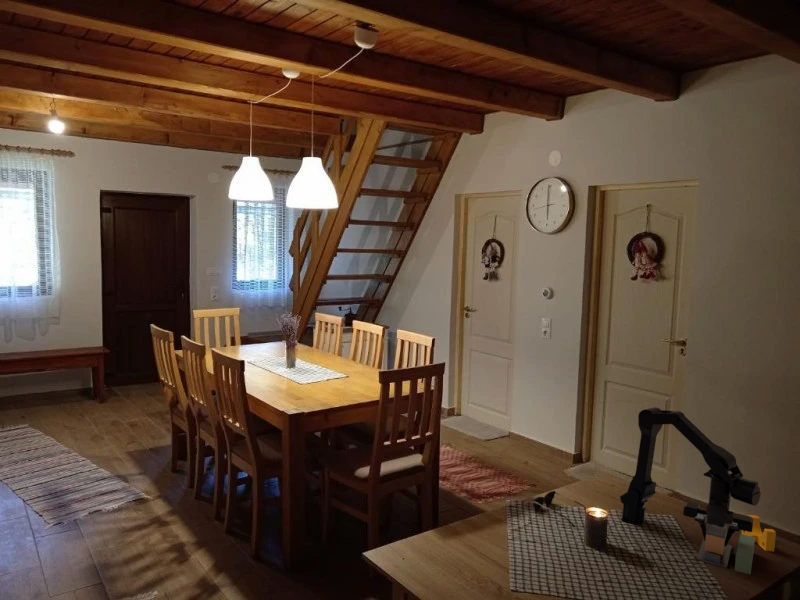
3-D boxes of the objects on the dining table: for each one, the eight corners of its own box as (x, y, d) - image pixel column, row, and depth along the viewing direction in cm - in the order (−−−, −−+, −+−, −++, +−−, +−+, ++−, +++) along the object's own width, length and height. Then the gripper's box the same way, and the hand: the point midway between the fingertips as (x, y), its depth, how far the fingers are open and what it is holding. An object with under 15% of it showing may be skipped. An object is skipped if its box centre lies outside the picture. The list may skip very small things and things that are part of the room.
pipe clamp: (741, 533, 204) (743, 514, 203) (754, 534, 204) (756, 515, 203) (759, 550, 192) (761, 530, 191) (774, 552, 192) (776, 532, 191)
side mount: (696, 559, 184) (697, 551, 184) (703, 540, 197) (704, 532, 197) (726, 568, 180) (727, 559, 179) (731, 547, 193) (732, 539, 193)
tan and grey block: (704, 550, 186) (706, 532, 185) (707, 538, 193) (708, 521, 193) (723, 554, 183) (724, 536, 183) (725, 543, 191) (726, 525, 190)
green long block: (733, 569, 179) (734, 553, 178) (737, 548, 192) (738, 533, 192) (750, 574, 176) (751, 558, 176) (753, 553, 190) (755, 537, 189)
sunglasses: (552, 502, 223) (554, 489, 222) (593, 520, 211) (595, 507, 211) (531, 512, 213) (532, 499, 212) (572, 532, 202) (574, 517, 201)
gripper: (682, 494, 185) (678, 544, 186) (753, 510, 175) (748, 563, 176) (687, 483, 195) (683, 531, 196) (755, 498, 184) (750, 548, 186)
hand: (715, 543), depth 188 cm, fingers closed on tan and grey block, 5 cm apart
